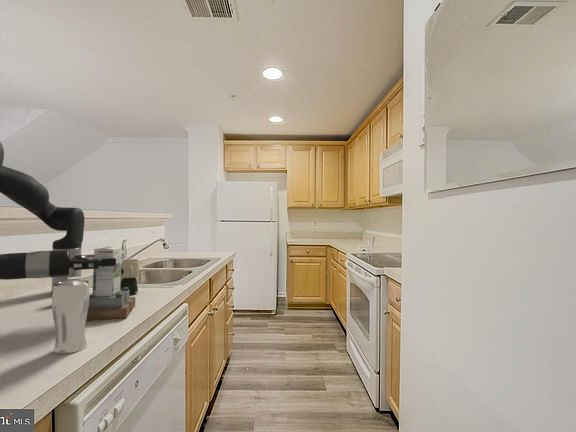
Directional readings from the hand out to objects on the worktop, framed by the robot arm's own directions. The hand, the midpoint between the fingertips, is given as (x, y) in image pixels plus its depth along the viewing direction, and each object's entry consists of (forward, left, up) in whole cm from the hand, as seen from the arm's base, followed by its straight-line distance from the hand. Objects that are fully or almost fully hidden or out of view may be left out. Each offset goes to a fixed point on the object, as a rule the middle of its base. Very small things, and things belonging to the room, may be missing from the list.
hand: (114, 260), depth 93 cm
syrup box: (+1, -2, -11) cm, 11 cm away
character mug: (-24, -1, -17) cm, 29 cm away
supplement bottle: (-17, -17, -17) cm, 29 cm away
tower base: (0, -2, -16) cm, 17 cm away
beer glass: (+25, -3, -17) cm, 31 cm away
